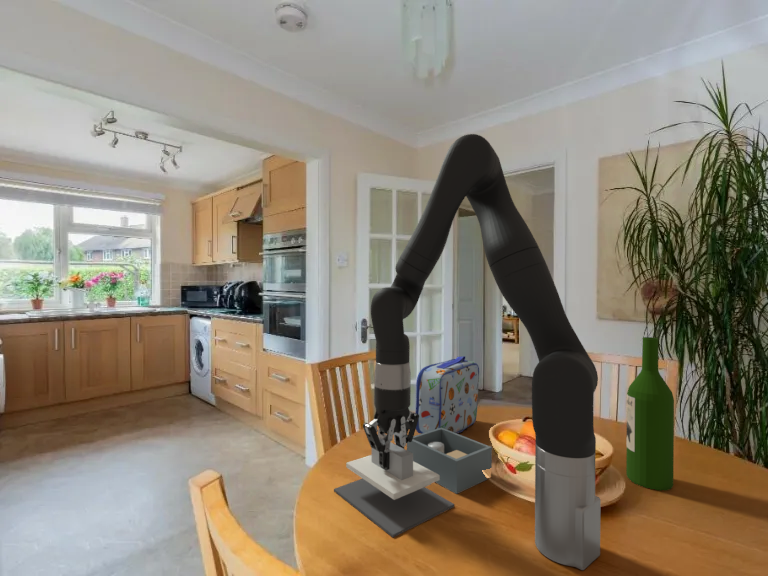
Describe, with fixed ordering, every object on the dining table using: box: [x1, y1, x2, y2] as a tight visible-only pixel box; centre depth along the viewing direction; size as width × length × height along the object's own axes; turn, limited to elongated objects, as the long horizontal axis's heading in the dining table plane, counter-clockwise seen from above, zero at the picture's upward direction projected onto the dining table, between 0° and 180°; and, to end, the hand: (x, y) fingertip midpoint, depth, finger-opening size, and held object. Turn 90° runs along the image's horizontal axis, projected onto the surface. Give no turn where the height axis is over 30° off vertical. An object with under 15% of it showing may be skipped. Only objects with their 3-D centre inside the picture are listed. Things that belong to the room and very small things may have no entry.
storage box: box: [406, 428, 493, 495], centre depth 95 cm, size 16×12×7 cm
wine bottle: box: [625, 336, 675, 491], centre depth 91 cm, size 9×9×32 cm
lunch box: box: [414, 356, 480, 434], centre depth 123 cm, size 28×10×22 cm, turn 143°
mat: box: [333, 478, 455, 538], centre depth 83 cm, size 20×16×1 cm
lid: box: [345, 441, 440, 500], centre depth 83 cm, size 16×12×6 cm
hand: (391, 465), depth 83 cm, fingers closed on lid, 3 cm apart
